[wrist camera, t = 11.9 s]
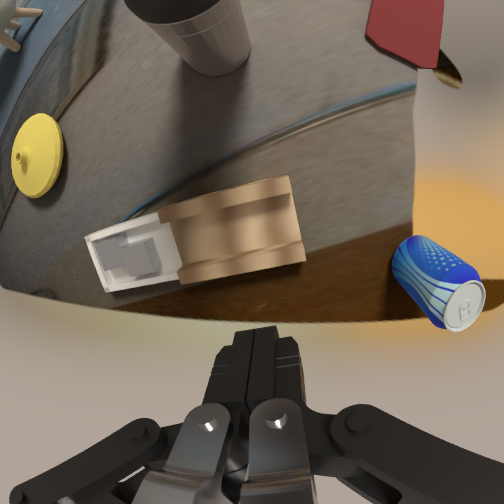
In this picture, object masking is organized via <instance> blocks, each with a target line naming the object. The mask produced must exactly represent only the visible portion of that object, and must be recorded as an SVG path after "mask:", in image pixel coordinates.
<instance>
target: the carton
mask: <svg viewBox="0 0 504 504" xmlns="http://www.w3.org/2000/svg"><path fill="white" fill-rule="evenodd" d="M443 11H444V0H372V2H371V7H370V12H369V16H368V21H367V26H366V31H365V36H366V37H367V38H368V39H369V40H370V41H371V42H372V43H374V44H375V45H376V46H377V47H378V48H380V49H382V50H384V51H386V52H389V53H391V54H393V55H395V56H397V57H399V58H401V59H403V60H405V61H407V62H409V63H411V64H413V65H415V66H417V67H418V68H419V69H434V68H436V65H437V60H438V54H439V47H440V39H441V32H442V23H443Z"/></svg>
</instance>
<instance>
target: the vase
mask: <svg viewBox="0 0 504 504" xmlns="http://www.w3.org/2000/svg"><path fill="white" fill-rule="evenodd" d="M62 159H63V139H62V133H61V130H60V128H59V125H58V124H57V122H56V121H55V120H54V119H53V118H52V117H50V116H48V115H46V114H42V113H38V114H36V115H34V116H32V117H31V118H29V119H28V120H27V121H26V122H25V123H24V124H23V126H22V127H21V129H20V130H19V132H18V134H17V136H16V138H15V142H14V145H13V150H12V172H13V177H14V180H15V183H16V185H17V186H18V188H19V189H20V191H21V192H23V193H24V194H25V195H26V196H28V197H30V198H39V197H40V196H42V195H44V194H45V193H46V192H48V191H49V190H50V188H51V187H52V186H53V185H54V183H55V181H56V179H57V177H58V175H59V172H60V169H61V165H62Z"/></svg>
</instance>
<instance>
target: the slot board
mask: <svg viewBox="0 0 504 504" xmlns="http://www.w3.org/2000/svg"><path fill="white" fill-rule="evenodd" d="M291 192H292V189H291V185H290V180H289V176H288V175H283V176H279V177H274V178H270V179H265V180H261V181H257V182H252V183H248V184H244V185H240V186H236V187H232V188H228V189H224V190H220V191H216V192H212V193H209V194H205V195H201V196H198V197H194V198H190V199H187V200H183V201H180V202H176V203H173V204H170V205H167V206H165V207H162V208H160V209H158V210H157V214H158V217H159V220H160V223H161V224H164V223H168V222H169V224H170V227H171V230H172V233H173V237H174V240H175V243H176V246H177V249H178V252H179V255H180V258H181V261H182V264H183V265H182V266H181V267H180V268H179V270H178V271H177V275H178V278H179V280H180V283H181V285H183V284H188V283H194V282H199V281H204V280H210V279H215V278H220V277H226V276H231V275H236V274H241V273H247V272H252V271H257V270H262V269H267V268H272V267H277V266H282V265H287V264H292V263H297V262H302V261H306V257H305V252H304V247H303V243H302V240H301V235H300V230H299V225H298V220H297V216H296V211H295V206H294V202H293V197H292V193H291Z"/></svg>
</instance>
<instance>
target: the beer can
mask: <svg viewBox="0 0 504 504" xmlns="http://www.w3.org/2000/svg"><path fill="white" fill-rule="evenodd" d="M392 272H393V275H394V277H395V279H396V280H397V281H398V283H399V284H400V285H401V286H402V287H403V288H404V289H405V291H406V292H407V293H408V294H409V295H410V296H411V298H412V299H413V300H414V301H415V302H416V303H417V305H418V306H419V307H420V308H421V309H422V311H423V312H424V313H425V314H426V316H427V317H428V318H429V319H430V321H431V322H432V323H433V324H434V325H435V326H437V327H439V328H442V329H448V330H449V331H451V332H459V331H462V330H464V329H466V328H467V327H469V326H470V325H471V324H472V323H473V322H474V321H475V320H476V318H477V317H478V316H479V314H480V312H481V310H482V308H483V306H484V302H485V289H484V286H483V285H482V283H481V280H480V277H479V274H478V273H477V271H476V270H475V269H474V268H473V267H472V266H470V265H469V264H467V263H466V262H464V261H463V260H462V259H460V258H458V257H457V256H456V255H454V254H452V253H451V252H449V251H448V250H446V249H445V248H443V247H441V246H440V245H438V244H437V243H435V242H434V241H432V240H430V239H429V238H427V237H425V236H421V235H416V236H412V237H409V238H407V239H406V240H405V241H403V242H402V243H401V244H400V245H399V247H398V248H397V250H396V252H395V254H394V257H393V260H392Z"/></svg>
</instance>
